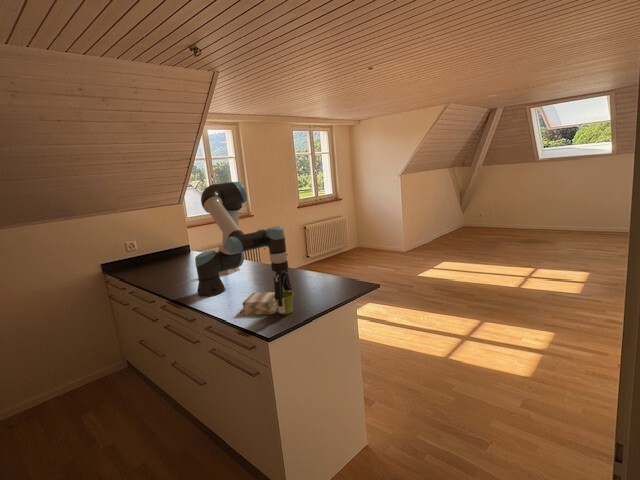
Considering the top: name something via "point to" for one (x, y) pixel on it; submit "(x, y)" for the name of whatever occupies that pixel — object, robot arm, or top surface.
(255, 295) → the pedestal base
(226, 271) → the grater
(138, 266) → the top surface
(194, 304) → the top surface
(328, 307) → the top surface
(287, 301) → the plant pot
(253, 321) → the top surface
